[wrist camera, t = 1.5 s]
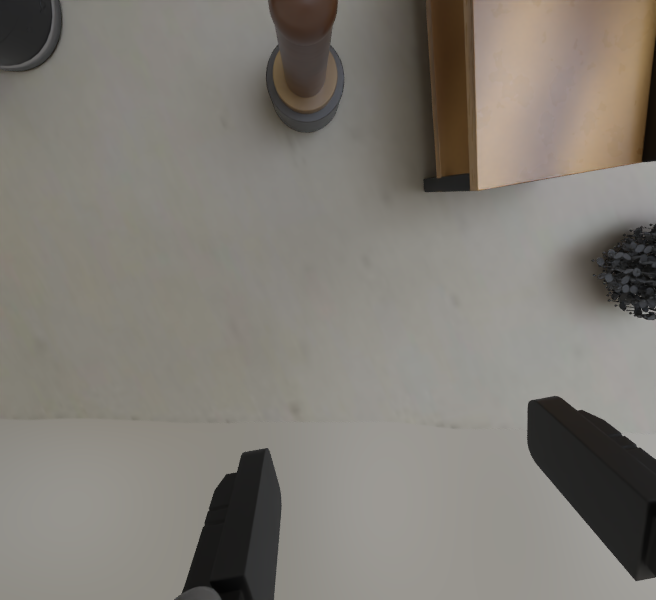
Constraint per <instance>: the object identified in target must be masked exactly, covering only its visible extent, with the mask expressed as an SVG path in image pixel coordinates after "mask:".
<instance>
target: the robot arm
mask: <svg viewBox="0 0 656 600" xmlns="http://www.w3.org/2000/svg"><path fill="white" fill-rule="evenodd" d="M60 30H61V9H60V4H59V0H0V69H2V70H7V71H24V70H28V69H31V68H34V67H36V66H38V65H40V64H41V63H43V62H44V61H45V60H46V59H47V58H48V57H49V56H50V55H51V53H52V52H53V50H54V49H55V47H56V45H57V42H58V39H59V36H60ZM527 432H528V433H527V434H528V435H527V436H528V437H527V440H528V448H529V451H530V453H531V456H532V458H533V459H534V461H535V462H536V464H537V465H538V466H539V467H540V469H541V470H542V471H543V472H544V473H545V475H546V476H547V477H548V478H549V479H550V480H551V481H552V483H553V484H554V485H555V486H556V487H557V489H558V490H559V491H560V492H561V493H562V494H563V496H564V497H565V498H566V499H567V500H568V501H569V503H570V504H571V505H572V506H573V507H574V509H575V510H576V511H577V512H578V513H579V515H580V516H581V517H582V518H583V519H584V521H585V522H586V523H587V524H588V525H589V526H590V528H591V529H592V530H593V531H594V532H595V533H596V535H597V536H598V537H599V538H600V539H601V540H602V542H603V543H604V544H605V545H606V546H607V548H608V549H609V550H610V551H611V552H612V553H613V555H614V556H615V557H616V558H617V559H618V561H619V562H620V563H621V564H622V565H623V566H624V568H625V569H626V570H627V571H628V572H629V574H630V575H631V576H632V577H633V578H634V579H635V581H639V580H644V579H649V578H655V577H656V459H654V458H653V457H652V456H650V455H649V454H648V453H646V452H645V451H644V450H642V449H641V448H637V446H636V444H635V443H633V442H632V441H631V440H629V439H628V438H627V437H625V436H622V435H621V433H620V432H619V431H618V430H616V429H615V428H614V427H612V426H611V425H610V424H608V423H607V422H606V421H604V420H603V419H601V418H598V417H596V416H594V415H592V414H590V413H587V412H585V411H583V410H579V411H577V410H576V409H574V408H573V407H572V406H571V405H569V404H568V403H567V402H566V401H564V400H563V399H562V398H560V397H558V396H553V397H547V398H542V399H536V400H531V401H530V402H529V403H528V430H527ZM280 519H281V493H280V487H279V483H278V480H277V476H276V472H275V469H274V465H273V462H272V458H271V454H270V451H269V449H268V448H265V449H259V450H254V451H249V452H244V453H242V455H241V459H240V463H239V467H238V471H237V473H231V474H226V476H225V477H224V478H223V480H222V481H221V482H220V484H219V485H218V487H217V488H216V489H215V491H214V494H213V497H212V501H211V504H210V507H209V511H208V513H207V517H206V520H205V526H204V527H203V529H202V532H201V535H200V539H199V542H198V545H197V548H196V551H195V555H194V558H193V561H192V564H191V567H190V571H189V574H188V577H187V580H186V583H185V586H184V589H183V591H182V594H181V595H179V596H178V597H177V598H176V599H174V600H274V591H275V578H276V566H277V555H278V543H279V531H280Z"/></svg>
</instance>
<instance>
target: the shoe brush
mask: <svg viewBox="0 0 656 600" xmlns="http://www.w3.org/2000/svg"><path fill="white" fill-rule="evenodd" d="M268 3H269V10H270V14H271V17H272V20H273V22H274V24H275V29H276V34H277V39H278V45H277V47H276V48H275V49H274V51H273V52H272V54H271V56H270V58H269V61H268V65H267V71H266V82H267V88H268V92H269V94H270V97H271V100H272V102H273V105H274V107H275V110H276V112H277V114H278V116H279V117H280V118H281V120H282V121H283V122H284V123H285V124H286V125H287V126H289V127H290V128H292V129H294V130H297V131H300V132H313V131H317V130H319V129H321V128H323V127H324V126H326V125H327V124H328V123H329V122H330V121H331V120H332V118H333V117H334V115H335V113H336V111H337V108H338V105H339V102H340V99H341V96H342V92H343V88H344V71H343V66H342V63H341V60H340V58H339V56H338V54H337V53H336V51H335V50H334V48H333V47H332V46H331V45H330V42H331V35H332V28H333V24H334V21H335V18H336V14H337V8H338V0H268Z"/></svg>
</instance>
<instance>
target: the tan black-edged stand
mask: <svg viewBox="0 0 656 600" xmlns="http://www.w3.org/2000/svg"><path fill="white" fill-rule="evenodd" d="M426 14H427V30H428V46H429V62H430V78H431V94H432V110H433V125H434V141H435V157H436V173H437V177H435V178H429V179H424V189H425V192H448V191H480V190H486V189H491V188H497V187H503V186H509V185H514V184H520V183H526V182H532V181H537V180H543V179H549V178H555V177H560V176H566V175H572V174H578V173H583V172H589V171H595V170H601V169H606V168H612V167H618V166H624V165H629V164H635V163H641V162H651V161H656V0H426Z"/></svg>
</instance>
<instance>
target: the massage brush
mask: <svg viewBox="0 0 656 600" xmlns="http://www.w3.org/2000/svg"><path fill="white" fill-rule="evenodd" d="M652 225H653V224H650V226H652ZM642 228H643V227H642V226H641V227H640V228H637V229H636V230H635V231H634V235H628V234H627V235H628V237H635V240H634V239H632V238H625V239H624V240H623V239H622V240H621V241H625V240H626V243H625V242H622V246H620V245H617V248H618V247H622V249H621V250H619V253H618V252H616V251H614V250H612V249H611V250H609V251H608V252H607V253H608V255H607V256H608V259H610V258H611V259H610V262H607V265H608V266H602V267H603V268H606V267H608V268H607V270H608V271H606V272H607V275H606V273H601V274H599V275H598V277H597V278H598V279H603V278H605V280H603V282H607V284H608V287H609V289H608V291H610V289H612V291H614V292H613V294H612V295H611V297H612V299H613V300H608V301H614V300H616V299H617V298H618V297H619V298H618V301H615V302H619V301H620V304H619V307H620V308H621V309H622V310H623V311H625V309H626V307H628V306H626V305H629V304H630V303H631V304H632V305H633V306H634V307H631V308H635V310H626V311H634V314H635V315H634V316H637V317H638V318H642V317H643V318H644V319H647V320H654V319H656V315H655V314H656V313H655V314H654V312H649V314H642V311H641V308H643V309H642V310H643V311H644V312H648V310H649V309H650V310H653V311H656V310H655V309H656V308H655V306H656V302H655V301H656V295H655V294H656V256H655V255H656V242H655V241H656V226H655V225H654V227H653V229H652V230H651V232H644V235H645V236H644V237H643V234H642ZM645 228H646V227H645ZM643 229H644V228H643ZM649 229H651V228H649ZM630 231H632V230H630ZM623 236H626V234H624V235H623ZM642 238H645V239H644V240H643V239H642ZM636 240H638V241H636ZM647 240H648V241H647ZM636 243H639V244H638V245H637V244H636ZM646 243H649V244H646ZM618 244H621V243H618ZM645 246H646V247H645ZM653 246H654V247H653ZM614 248H616V247H614ZM624 250H625V251H629V252H628V253H625V251H624ZM639 252H640V253H641V254H640V253H639ZM604 253H605V252H603V254H604ZM647 253H650V255H648V256H647ZM651 253H652V254H651ZM607 256H606V255H603V257H607ZM620 259H621V260H620ZM591 261H594V260H591ZM605 261H608V260H607V259H606V260H605ZM605 261H604V260H603V259H602V258H598V259H597V263H598V264H599V267H601V265H605V263H604V262H605ZM631 263H632V264H631ZM639 263H640V264H639ZM629 264H630V265H629ZM628 265H629V267H628ZM646 265H647V266H646ZM636 266H637V267H636ZM634 267H636V268H634ZM614 269H615V270H614ZM603 272H605V270H603ZM613 272H614V273H615V274H616V275H612V273H613ZM621 272H622V273H621ZM628 273H629V274H628ZM642 274H643V275H642ZM593 276H596V275H595V274H594V275H593ZM636 277H637V278H636ZM649 277H652V279H650V278H649ZM615 281H616V282H615ZM632 282H633V283H632ZM637 283H638V284H637ZM603 284H604V285H605V284H606V283H603ZM644 284H645V286H644ZM608 287H605V288H608ZM654 288H655V289H654ZM617 292H618V293H617ZM609 294H611V292H609ZM635 294H636V295H635ZM638 295H639V296H640V295H641V296H642V297H639V296H638ZM607 296H609V295H607ZM615 306H617V305H615ZM625 306H626V307H625ZM648 306H649V307H650V308H648ZM654 308H655V309H654ZM629 314H632V313H631V312H630V313H629Z"/></svg>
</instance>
